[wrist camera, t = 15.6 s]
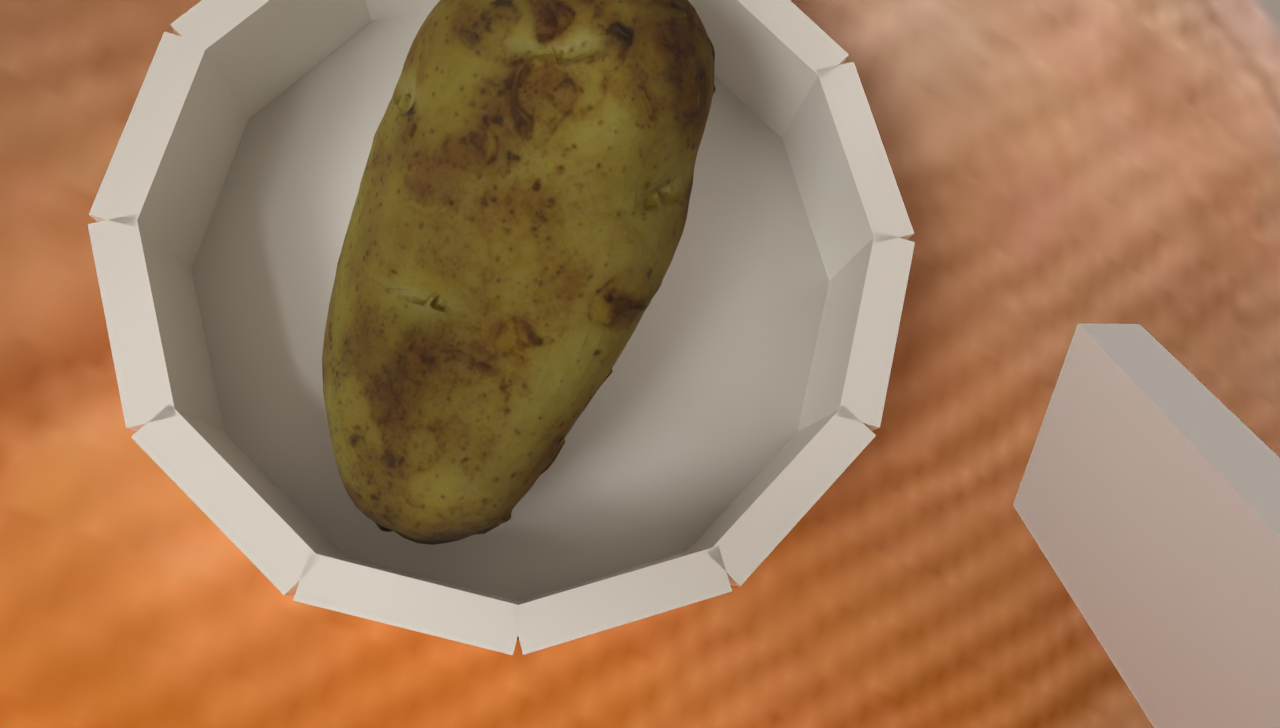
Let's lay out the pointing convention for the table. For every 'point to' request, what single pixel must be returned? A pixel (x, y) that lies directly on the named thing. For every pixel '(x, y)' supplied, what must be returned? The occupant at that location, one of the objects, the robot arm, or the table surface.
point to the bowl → (623, 405)
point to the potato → (506, 247)
